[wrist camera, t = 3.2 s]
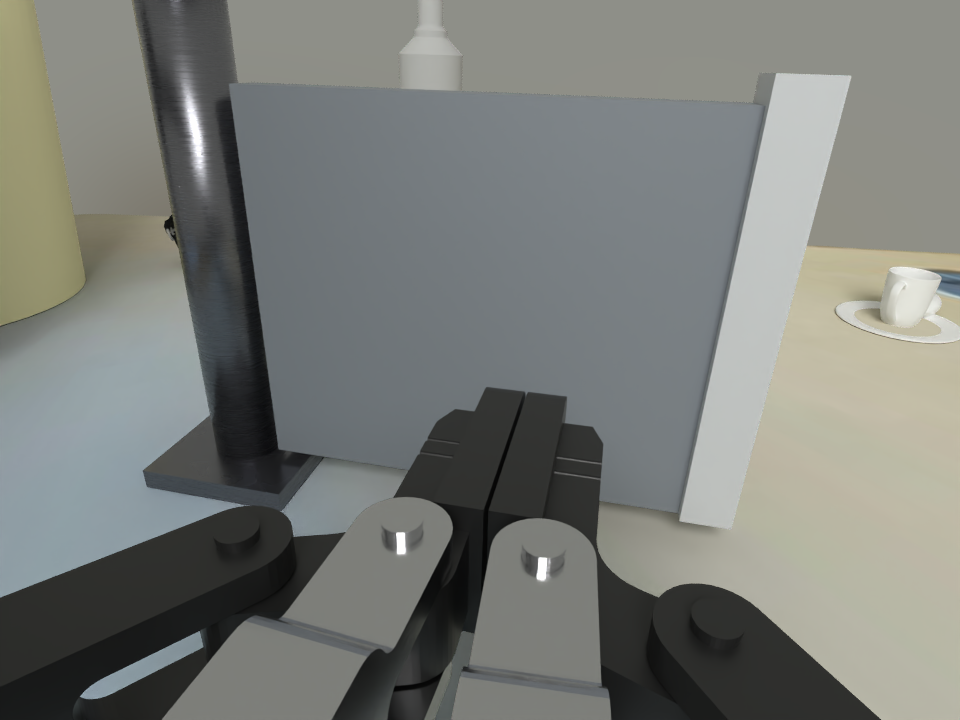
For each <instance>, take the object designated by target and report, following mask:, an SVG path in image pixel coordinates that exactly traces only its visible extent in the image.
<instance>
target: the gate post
mask: <svg viewBox="0 0 960 720" xmlns="http://www.w3.org/2000/svg"><path fill="white" fill-rule="evenodd" d="M132 5H133V10H134V15H135V20H136V26H137V31H138V36H139V42H140V47H141V52H142V57H143V63H144V68H145V73H146V78H147V84H148V89H149V94H150V100H151V105H152V110H153V116H154V121H155V126H156V131H157V136H158V142H159V147H160V152H161V157H162V163H163V168H164V174H165V179H166V184H167V190H168V194H169V200H170V205H171V211H172V216H173V221H174V227H175V232H176V237H177V242H178V248H179V253H180V258H181V264H182V269H183V274H184V279H185V285H186V290H187V295H188V301H189V306H190V311H191V316H192V322H193V327H194V332H195V338H196V343H197V348H198V353H199V359H200V364H201V369H202V375H203V380H204V385H205V390H206V396H207V401H208V406H209V412H210V416H209V417H207V418H206V419H205V420H204V421H203V422H201V423H200V424H199V425H198V426H197V427H195V428H194V429H193V430H192V431H190V432H189V433H188V434H187V435H186V436H184V437H183V438H182V439H181V440H180V441H178V442H177V443H176V444H175V445H174V446H172V447H171V448H170V449H169V450H167V451H166V452H165V453H164V454H163V455H161V456H160V457H159V458H158V459H157V460H155V461H154V462H153V463H152V464H151V465H149V466H148V467H147V468H146V469H144V470H143V473H144V477H145V481H146V485H147V487H151V488H157V489H162V490H168V491H173V492H179V493H184V494H190V495H196V496H201V497H207V498H212V499H218V500H223V501H229V502H234V503H240V504H246V505H251V506H265V507H270V508H273V509H276V510H279V511H281V510H282V509H283V508H284V507H285V505H286V504H287V503H288V502H289V500H290V499H291V498H292V497H293V495H294V494H295V493H296V491H297V490H298V489H299V488H300V486H301V485H302V484H303V483H304V481H305V480H306V479H307V478H308V476H309V475H310V474H311V472H312V471H313V470H314V469H315V467H316V466H317V465H318V464H319V462H320V461H321V460H322V459H323V456H317V455H311V454H304V453H298V452H292V451H286V450H279V448H278V441H277V433H276V426H275V419H274V411H273V404H272V397H271V390H270V382H269V375H268V368H267V360H266V353H265V346H264V338H263V331H262V324H261V316H260V309H259V302H258V294H257V287H256V280H255V272H254V265H253V258H252V250H251V243H250V236H249V228H248V221H247V214H246V206H245V199H244V192H243V184H242V177H241V170H240V163H239V155H238V148H237V141H236V133H235V126H234V119H233V111H232V104H231V97H230V89H229V84H232V83H238V81H237V72H236V65H235V57H234V50H233V43H232V35H231V27H230V19H229V11H228V4H227V0H132Z"/></svg>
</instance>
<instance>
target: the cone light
mask: <svg viewBox="0 0 960 720" xmlns="http://www.w3.org/2000/svg"><path fill="white" fill-rule="evenodd" d="M85 282H86V278H85V272H84V267H83V262H82V256H81V251H80V246H79V240H78V235H77V229H76V224H75V219H74V213H73V208H72V203H71V197H70V192H69V187H68V181H67V176H66V170H65V165H64V160H63V154H62V149H61V144H60V138H59V133H58V127H57V122H56V117H55V111H54V106H53V101H52V95H51V90H50V84H49V79H48V74H47V69H46V63H45V58H44V52H43V47H42V41H41V36H40V31H39V25H38V20H37V15H36V9H35V4H34V0H0V326H2V325H5V324H8V323H11V322H14V321H18V320H21V319H24V318H27V317H30V316H32V315H35V314H38V313H40V312H43V311H45V310H48V309H50V308H52V307H54V306H56V305H58V304H60V303H63V302H65V301H66V300H68V299H69V298H71V297H72V296H74V295H75V294H77V293H78V292H79V291H80V290H81V289H82V288H83V287H84V284H85Z"/></svg>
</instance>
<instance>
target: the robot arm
mask: <svg viewBox="0 0 960 720" xmlns="http://www.w3.org/2000/svg"><path fill="white" fill-rule="evenodd" d="M566 409H567V396H558V395H550V394H542V393H534V392H528V393H527V395H526V393H525V391H517V390H509V389H501V388H492V387H486V388H485V390H484V392H483V394H482V396H481V399H480V401H479V403H478V405H477V407H476V409H475V411H468V410H460V409H454V410H453V411H451V412H450V413H448V414H447V415H445V416H444V417H442V418H441V419H439V420H438V421H437V422H436V423H435V425H434V427H433V429H432V431H431V432H430V434H429V436H428V439H427V441H425V443H424V445H423V446H422V448H421V450H420V454H418V455H417V457H416V459H415V461H414V462H413V464H412V466H411V468H410V469H409V471H408V473H407V475H406V476H405V478H404V480H403V482H402V484H401V485H400V487H399V489H398V491H397V492H396V494H395V496H394V498H392V499H387V500H384V501H381V502H378V503H376V504H374V505H372V506H370V507H368V508H367V509H366V510H364V511H363V512H362V513H361V514H360V515H359V516H358V517H357V518H356V520H355V521H354V522H353V524H352V525H351V526H350V528H349V529H348V530H347V532H343V533H338V534H329V535H314V536H299V537H293V530H292V525H291V522H290V520H289V519H288V517H287V516H286V515H284V514H283V513H282V512H280V511H278V510H276V509H273V508H270V507H265V506H243V507H236V508H232V509H228V510H225V511H222V512H220V513H217V514H214V515H212V516H209V517H207V518H204V519H202V520H199V521H196V522H194V523H191V524H189V525H186V526H184V527H181V528H178V529H176V530H173V531H171V532H168V533H166V534H163V535H160V536H158V537H155V538H153V539H150V540H148V541H145V542H142V543H140V544H137V545H135V546H132V547H130V548H127V549H124V550H122V551H119V552H117V553H114V554H112V555H109V556H106V557H104V558H101V559H99V560H96V561H94V562H91V563H88V564H86V565H83V566H81V567H78V568H76V569H73V570H70V571H68V572H65V573H63V574H60V575H58V576H55V577H52V578H50V579H47V580H45V581H42V582H40V583H37V584H34V585H32V586H29V587H27V588H24V589H22V590H19V591H16V592H14V593H11V594H9V595H6V596H4V597H1V598H0V720H434V719H435V717H436V714H437V712H438V709H439V707H440V704H441V702H442V699H443V696H444V694H445V691H446V689H447V686H448V684H449V681H450V678H451V674H452V659H453V656H454V654H455V651H456V648H457V645H458V641H459V638H460V635H461V632H462V631H466V632H471V633H475V634H474V640H473V645H472V650H471V656H470V661H469V665H468V667H463V669H462V671H461V675H460V678H459V682H458V687H457V692H456V697H455V702H454V707H453V712H452V717H451V720H881V719H880V718H879V717H878V716H876V715H875V714H874V713H873V712H872V711H871V710H870V709H869V708H868V707H866V706H865V705H864V704H863V703H862V702H861V701H860V700H859V699H858V698H856V697H855V696H854V695H853V694H852V693H851V692H850V691H849V690H848V689H847V688H845V687H844V686H843V685H842V684H841V683H840V682H839V681H838V680H837V679H835V678H834V677H833V676H832V675H831V674H830V673H829V672H828V671H827V670H825V669H824V668H823V667H822V666H821V665H820V664H819V663H818V662H817V661H815V660H814V659H813V658H812V657H811V656H810V655H809V654H808V653H807V652H806V651H804V650H803V649H802V648H801V647H800V646H799V645H798V644H797V643H796V642H794V641H793V640H792V639H791V638H790V637H789V636H788V635H787V634H786V633H784V632H783V631H782V630H781V629H780V628H779V627H778V626H777V625H776V624H774V623H773V622H772V621H771V620H770V619H769V618H768V617H767V616H766V615H765V614H763V613H762V612H761V611H760V610H759V609H758V608H756V607H755V606H754V605H753V604H751V603H750V602H749V601H747V600H746V599H744V598H742V597H741V596H739V595H737V594H735V593H733V592H731V591H728V590H725V589H723V588H720V587H716V586H712V585H706V584H684V585H679V586H676V587H673V588H671V589H669V590H667V591H666V592H664V593H663V594H662V595H661V596H660V597H659V598H658V597H656V596H653V595H651V594H649V593H647V592H644V591H642V590H640V589H638V588H636V587H634V586H632V585H630V584H628V583H626V582H625V581H623V580H622V579H620V578H619V577H618V576H617V575H615V574H614V573H613V572H612V571H611V570H610V569H609V568H608V567H607V566H606V564H605V563H604V561H603V560H602V558H601V556H600V554H599V552H598V548H597V542H596V537H597V524H598V511H599V497H600V484H601V471H602V457H603V442H602V441H601V439H600V437H599V436H598V434H597V433H596V431H595V429H594V428H593V427H591V426H583V425H575V424H568V423H565V419H566ZM198 631H200V633H201V638H202V642H203V646H204V647H203V648H201V649H200V650H198V651H196V652H194V653H192V654H190V655H188V656H186V657H184V658H182V659H180V660H178V661H176V662H174V663H172V664H170V665H168V666H166V667H164V668H162V669H160V670H158V671H156V672H154V673H152V674H150V675H148V676H146V677H144V678H142V679H140V680H138V681H136V682H134V683H132V684H130V685H128V686H127V687H125V688H123V689H121V690H119V691H117V692H115V693H113V694H111V695H108V696H106V697H103V698H99V699H84V698H81V697H80V696H81V694H82V693H83V692H84V691H85V690H86V689H87V688H89V687H90V686H91V685H92V684H94V683H95V682H97V681H99V680H100V679H102V678H104V677H106V676H108V675H110V674H112V673H114V672H116V671H118V670H121V669H123V668H125V667H127V666H129V665H131V664H133V663H135V662H137V661H139V660H141V659H143V658H145V657H147V656H149V655H151V654H153V653H155V652H157V651H159V650H161V649H163V648H165V647H167V646H170V645H172V644H174V643H176V642H178V641H180V640H182V639H184V638H186V637H188V636H190V635H192V634H194V633H196V632H198Z"/></svg>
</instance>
